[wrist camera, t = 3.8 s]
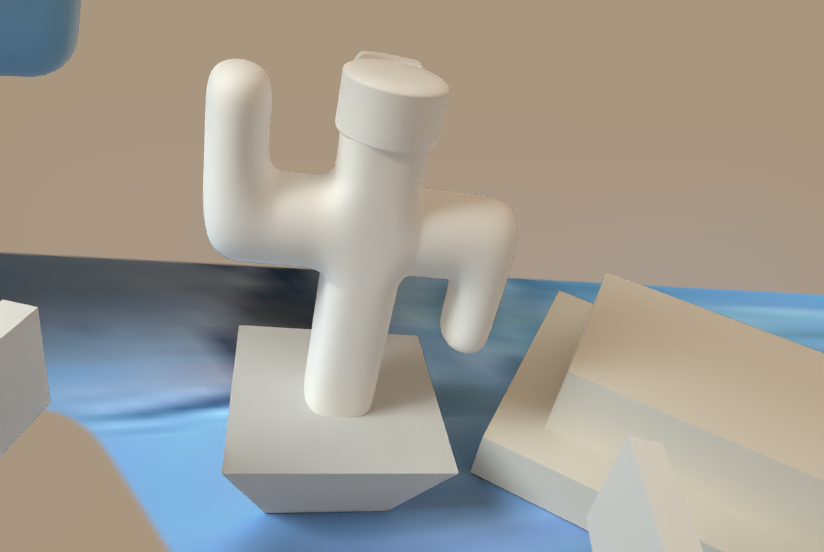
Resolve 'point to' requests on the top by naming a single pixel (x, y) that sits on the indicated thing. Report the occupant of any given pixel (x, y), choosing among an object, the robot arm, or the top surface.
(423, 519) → the top surface
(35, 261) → the top surface
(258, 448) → the figurine
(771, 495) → the plinth
